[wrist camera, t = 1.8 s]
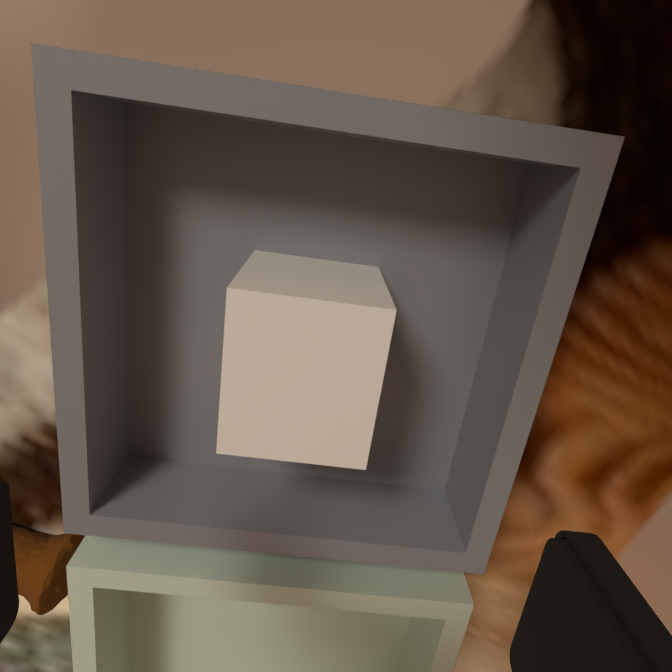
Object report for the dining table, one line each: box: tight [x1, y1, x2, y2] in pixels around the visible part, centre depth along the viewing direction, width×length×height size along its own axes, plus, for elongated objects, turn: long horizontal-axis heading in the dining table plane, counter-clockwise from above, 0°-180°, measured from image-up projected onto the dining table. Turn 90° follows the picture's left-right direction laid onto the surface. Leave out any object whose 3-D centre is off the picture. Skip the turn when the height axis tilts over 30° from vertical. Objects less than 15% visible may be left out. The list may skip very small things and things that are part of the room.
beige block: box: [216, 250, 397, 470], centre depth 16 cm, size 5×4×5 cm
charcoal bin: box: [31, 43, 625, 575], centre depth 17 cm, size 15×15×4 cm
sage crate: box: [66, 535, 474, 672], centre depth 23 cm, size 15×15×4 cm
